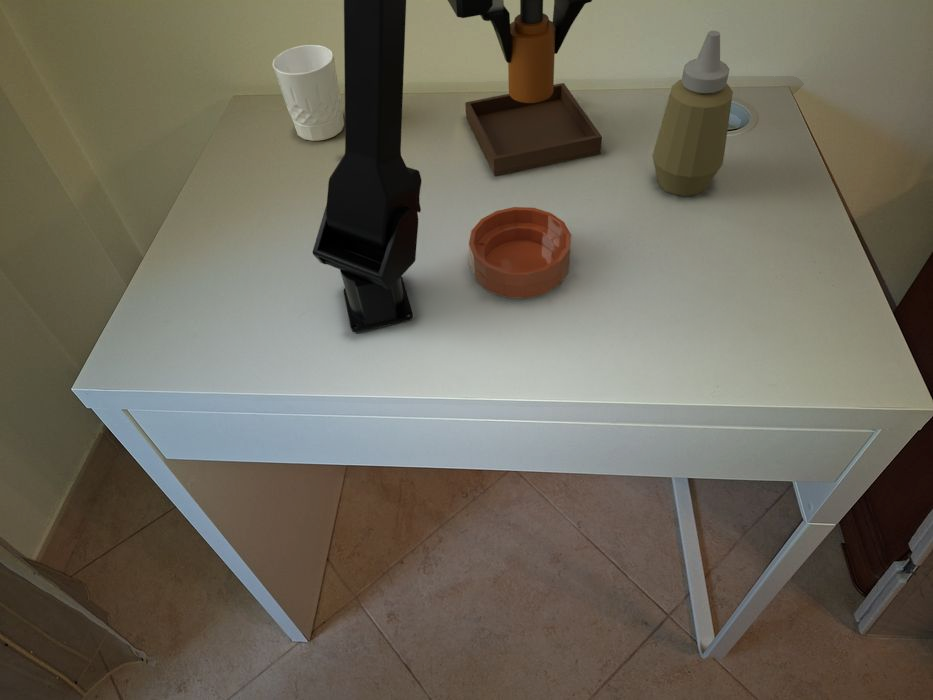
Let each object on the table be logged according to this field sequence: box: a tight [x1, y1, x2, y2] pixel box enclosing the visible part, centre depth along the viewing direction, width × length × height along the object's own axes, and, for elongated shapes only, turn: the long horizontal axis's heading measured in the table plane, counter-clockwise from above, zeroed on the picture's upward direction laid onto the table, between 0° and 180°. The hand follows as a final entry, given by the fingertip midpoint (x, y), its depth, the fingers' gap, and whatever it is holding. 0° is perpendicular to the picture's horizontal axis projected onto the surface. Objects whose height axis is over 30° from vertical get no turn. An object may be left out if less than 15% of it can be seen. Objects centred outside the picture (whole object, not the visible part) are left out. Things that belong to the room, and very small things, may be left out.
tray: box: [464, 82, 603, 177], centre depth 89 cm, size 14×14×2 cm
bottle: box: [507, 0, 556, 103], centre depth 81 cm, size 6×6×12 cm
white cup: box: [272, 44, 345, 142], centre depth 91 cm, size 8×8×10 cm
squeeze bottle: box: [652, 30, 734, 197], centre depth 75 cm, size 8×8×18 cm
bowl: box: [468, 206, 572, 299], centre depth 72 cm, size 11×11×4 cm
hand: (531, 56), depth 82 cm, fingers closed on bottle, 5 cm apart
